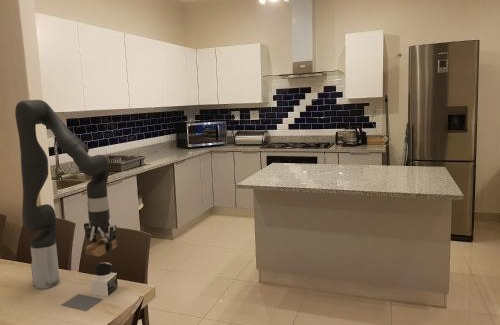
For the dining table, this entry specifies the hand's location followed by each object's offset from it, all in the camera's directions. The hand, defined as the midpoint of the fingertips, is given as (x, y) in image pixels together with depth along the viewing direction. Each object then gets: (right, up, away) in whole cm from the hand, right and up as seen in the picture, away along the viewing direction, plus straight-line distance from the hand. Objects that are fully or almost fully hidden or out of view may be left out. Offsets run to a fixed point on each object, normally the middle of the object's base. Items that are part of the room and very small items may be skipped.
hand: (101, 249), depth 154 cm
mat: (-5, -19, -5) cm, 21 cm away
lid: (0, 0, 0) cm, 0 cm away
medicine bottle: (0, -18, +3) cm, 18 cm away
